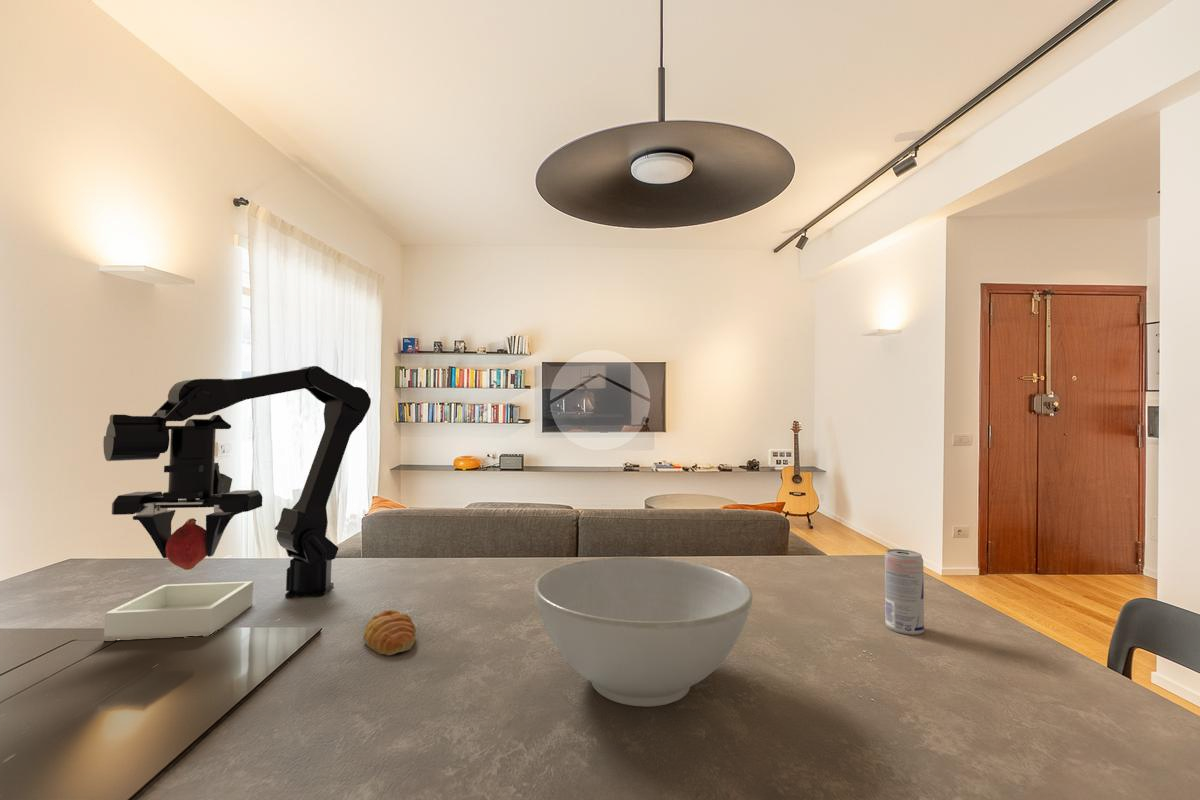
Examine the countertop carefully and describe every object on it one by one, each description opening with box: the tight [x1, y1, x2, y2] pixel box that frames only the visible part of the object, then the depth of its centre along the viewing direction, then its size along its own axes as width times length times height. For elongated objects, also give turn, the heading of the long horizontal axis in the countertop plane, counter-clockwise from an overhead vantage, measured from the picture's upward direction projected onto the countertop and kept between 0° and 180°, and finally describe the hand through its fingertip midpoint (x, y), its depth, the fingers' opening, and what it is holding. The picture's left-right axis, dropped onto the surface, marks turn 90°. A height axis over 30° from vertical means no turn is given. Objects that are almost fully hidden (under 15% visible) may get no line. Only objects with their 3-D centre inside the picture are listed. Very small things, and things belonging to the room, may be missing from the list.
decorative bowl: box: [533, 556, 753, 708], centre depth 67 cm, size 27×27×12 cm
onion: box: [165, 517, 208, 571], centre depth 84 cm, size 6×6×8 cm
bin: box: [103, 580, 254, 640], centre depth 84 cm, size 14×14×4 cm
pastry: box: [363, 609, 417, 656], centre depth 77 cm, size 9×7×4 cm
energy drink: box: [884, 548, 925, 636], centre depth 85 cm, size 5×5×12 cm
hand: (188, 556), depth 84 cm, fingers closed on onion, 6 cm apart
